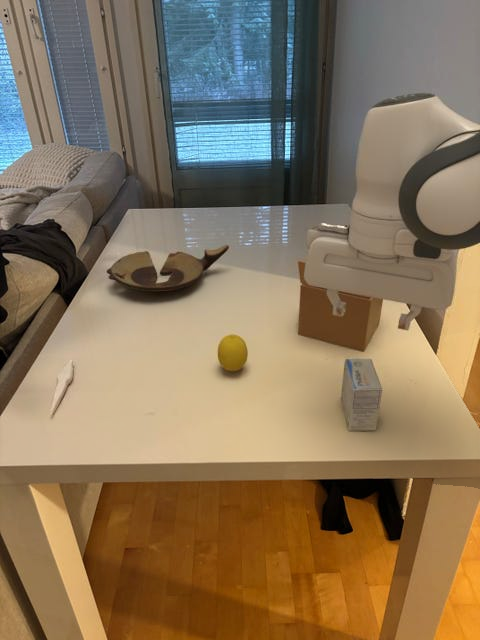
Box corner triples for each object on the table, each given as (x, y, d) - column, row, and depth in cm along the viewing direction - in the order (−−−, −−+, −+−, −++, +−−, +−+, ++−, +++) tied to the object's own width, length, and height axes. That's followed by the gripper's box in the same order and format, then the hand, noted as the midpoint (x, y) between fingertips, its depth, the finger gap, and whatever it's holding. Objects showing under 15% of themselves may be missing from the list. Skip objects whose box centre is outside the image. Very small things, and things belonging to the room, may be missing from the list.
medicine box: (376, 431, 73) (384, 389, 69) (347, 431, 73) (353, 389, 69) (365, 398, 80) (372, 357, 75) (339, 398, 80) (344, 357, 76)
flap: (372, 274, 81) (371, 275, 81) (371, 296, 86) (370, 298, 85) (298, 259, 87) (297, 261, 87) (301, 281, 91) (300, 283, 91)
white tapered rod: (65, 365, 90) (63, 357, 89) (79, 364, 90) (77, 356, 89) (43, 420, 77) (41, 411, 76) (60, 418, 77) (57, 410, 76)
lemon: (254, 371, 87) (253, 335, 83) (231, 383, 84) (229, 347, 80) (234, 358, 91) (233, 323, 87) (212, 370, 88) (210, 334, 84)
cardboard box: (379, 323, 101) (386, 275, 95) (363, 351, 92) (371, 300, 86) (318, 309, 107) (321, 262, 101) (297, 334, 98) (300, 285, 92)
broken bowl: (122, 266, 129) (117, 239, 125) (230, 264, 128) (229, 238, 124) (100, 305, 110) (94, 276, 106) (227, 304, 109) (226, 274, 105)
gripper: (300, 227, 62) (295, 316, 70) (465, 251, 55) (441, 348, 62) (314, 213, 67) (309, 297, 74) (468, 233, 60) (445, 325, 67)
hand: (370, 320), depth 68 cm, fingers open, 8 cm apart
